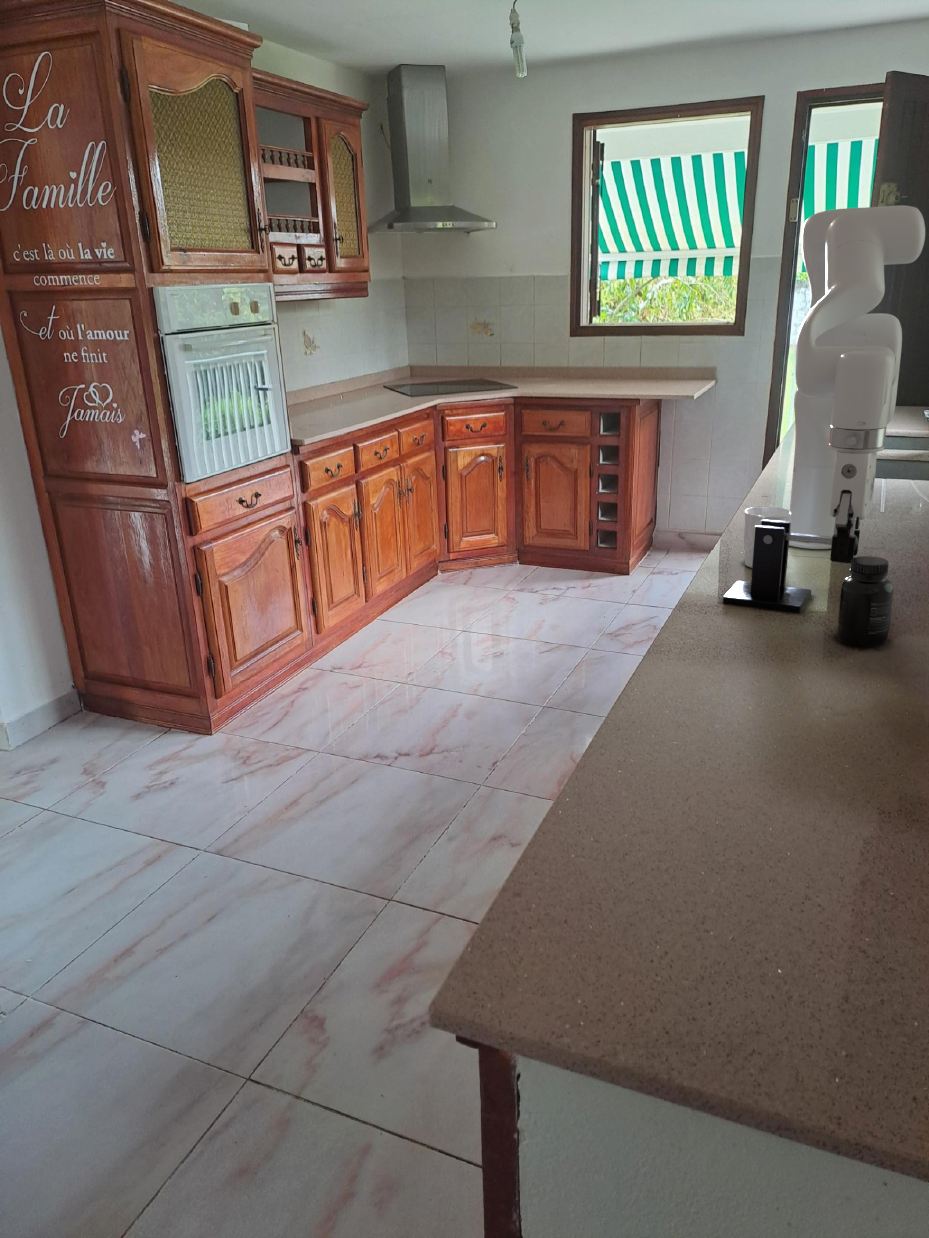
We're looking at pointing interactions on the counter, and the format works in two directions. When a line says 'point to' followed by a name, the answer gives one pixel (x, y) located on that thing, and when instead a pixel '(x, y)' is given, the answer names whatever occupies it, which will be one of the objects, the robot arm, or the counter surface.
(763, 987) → the counter surface
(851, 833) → the counter surface
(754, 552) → the black lever stand
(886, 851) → the counter surface
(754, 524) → the white cup
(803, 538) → the tap lever
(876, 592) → the supplement bottle
